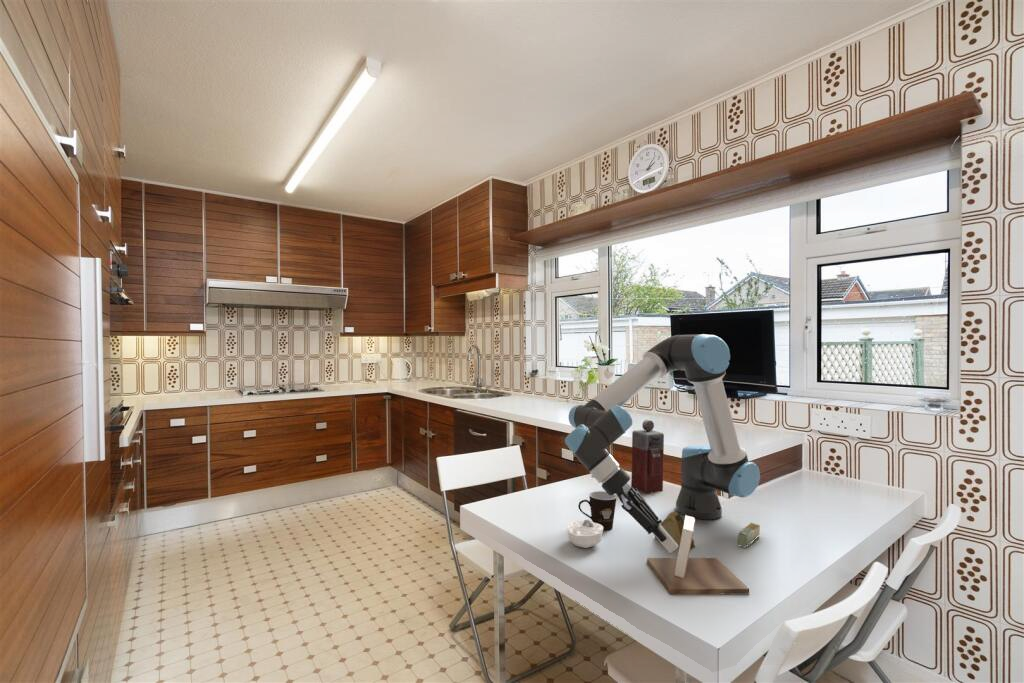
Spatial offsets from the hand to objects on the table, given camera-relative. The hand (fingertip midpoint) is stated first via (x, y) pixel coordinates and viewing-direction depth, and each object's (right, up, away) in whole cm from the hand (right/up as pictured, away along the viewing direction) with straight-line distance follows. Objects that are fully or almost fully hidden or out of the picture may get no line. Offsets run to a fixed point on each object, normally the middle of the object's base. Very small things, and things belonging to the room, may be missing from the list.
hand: (674, 549), depth 120 cm
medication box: (+30, -7, +21) cm, 37 cm away
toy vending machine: (+14, -7, +69) cm, 71 cm away
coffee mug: (-14, -6, +30) cm, 34 cm away
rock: (+6, -6, +19) cm, 21 cm away
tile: (+1, -5, 0) cm, 5 cm away
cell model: (-21, -6, +15) cm, 26 cm away
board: (+4, -6, -2) cm, 8 cm away
